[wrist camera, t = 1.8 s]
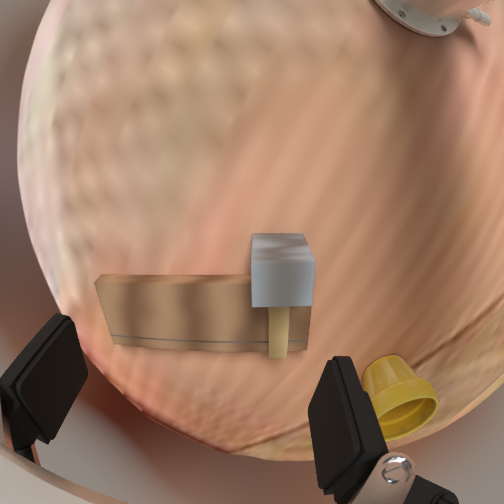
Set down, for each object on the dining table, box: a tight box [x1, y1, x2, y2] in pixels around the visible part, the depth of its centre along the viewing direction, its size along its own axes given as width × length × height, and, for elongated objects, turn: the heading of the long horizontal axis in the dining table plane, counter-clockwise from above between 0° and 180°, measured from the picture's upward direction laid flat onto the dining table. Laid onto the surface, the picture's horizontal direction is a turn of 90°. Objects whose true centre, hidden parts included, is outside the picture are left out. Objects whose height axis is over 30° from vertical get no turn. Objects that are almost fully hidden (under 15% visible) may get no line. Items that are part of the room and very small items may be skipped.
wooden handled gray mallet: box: [251, 233, 316, 359], centre depth 28 cm, size 5×13×7 cm, turn 2°
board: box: [94, 274, 311, 352], centre depth 31 cm, size 24×9×2 cm, turn 91°
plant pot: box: [363, 355, 439, 442], centre depth 32 cm, size 10×10×10 cm
